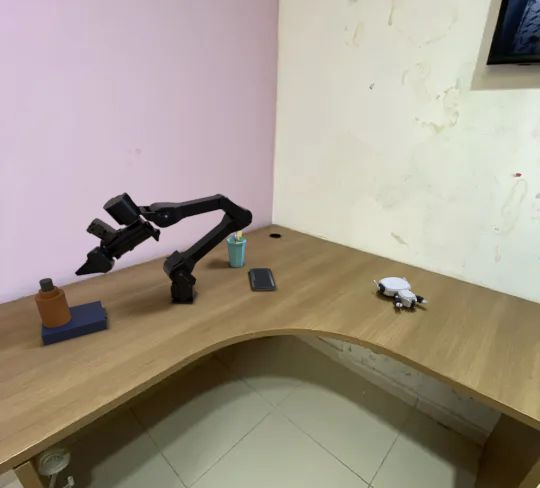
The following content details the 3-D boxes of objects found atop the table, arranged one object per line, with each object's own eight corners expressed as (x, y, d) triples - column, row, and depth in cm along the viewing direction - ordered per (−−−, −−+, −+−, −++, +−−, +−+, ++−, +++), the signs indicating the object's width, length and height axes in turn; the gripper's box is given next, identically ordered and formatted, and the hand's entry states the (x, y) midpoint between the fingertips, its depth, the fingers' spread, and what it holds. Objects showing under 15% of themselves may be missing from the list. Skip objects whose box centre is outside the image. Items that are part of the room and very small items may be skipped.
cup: (245, 273, 116) (245, 236, 110) (224, 273, 116) (223, 235, 110) (246, 258, 129) (247, 224, 122) (228, 257, 129) (227, 223, 122)
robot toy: (428, 310, 100) (400, 285, 112) (432, 299, 98) (403, 274, 110) (394, 314, 97) (370, 288, 110) (398, 303, 95) (373, 277, 107)
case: (104, 308, 92) (102, 299, 91) (109, 328, 84) (107, 319, 82) (45, 322, 85) (42, 313, 84) (44, 345, 77) (41, 335, 75)
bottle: (76, 314, 84) (65, 274, 79) (63, 328, 78) (50, 286, 73) (52, 313, 84) (40, 274, 78) (37, 327, 78) (23, 286, 73)
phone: (269, 268, 119) (275, 287, 105) (269, 270, 119) (275, 290, 106) (249, 268, 118) (252, 287, 104) (249, 271, 118) (252, 290, 105)
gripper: (117, 205, 88) (71, 235, 88) (100, 218, 71) (43, 255, 71) (143, 237, 93) (99, 265, 93) (133, 256, 76) (79, 290, 76)
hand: (81, 268), depth 83 cm, fingers open, 9 cm apart
